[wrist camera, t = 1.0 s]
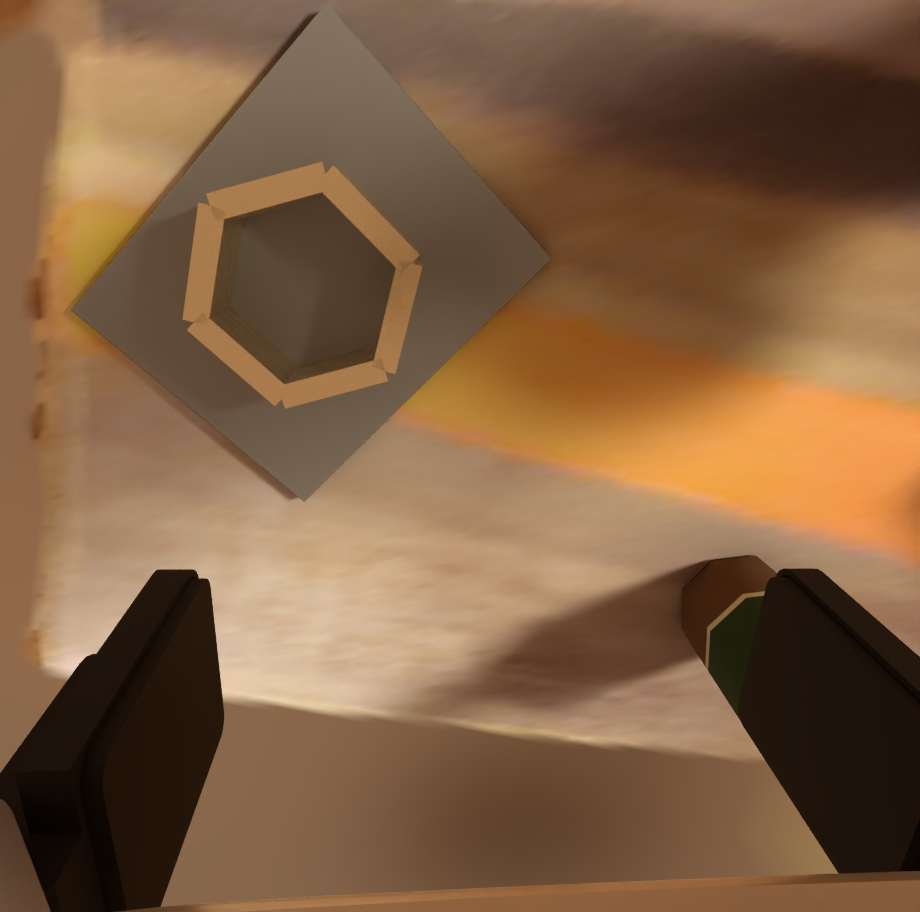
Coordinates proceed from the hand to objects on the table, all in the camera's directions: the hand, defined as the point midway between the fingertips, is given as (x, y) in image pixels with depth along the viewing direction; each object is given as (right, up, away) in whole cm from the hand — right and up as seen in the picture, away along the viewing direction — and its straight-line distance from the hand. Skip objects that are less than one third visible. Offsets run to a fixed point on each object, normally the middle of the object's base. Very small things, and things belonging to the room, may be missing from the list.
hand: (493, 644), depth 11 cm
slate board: (-8, +13, +25) cm, 29 cm away
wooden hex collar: (-8, +13, +25) cm, 29 cm away
